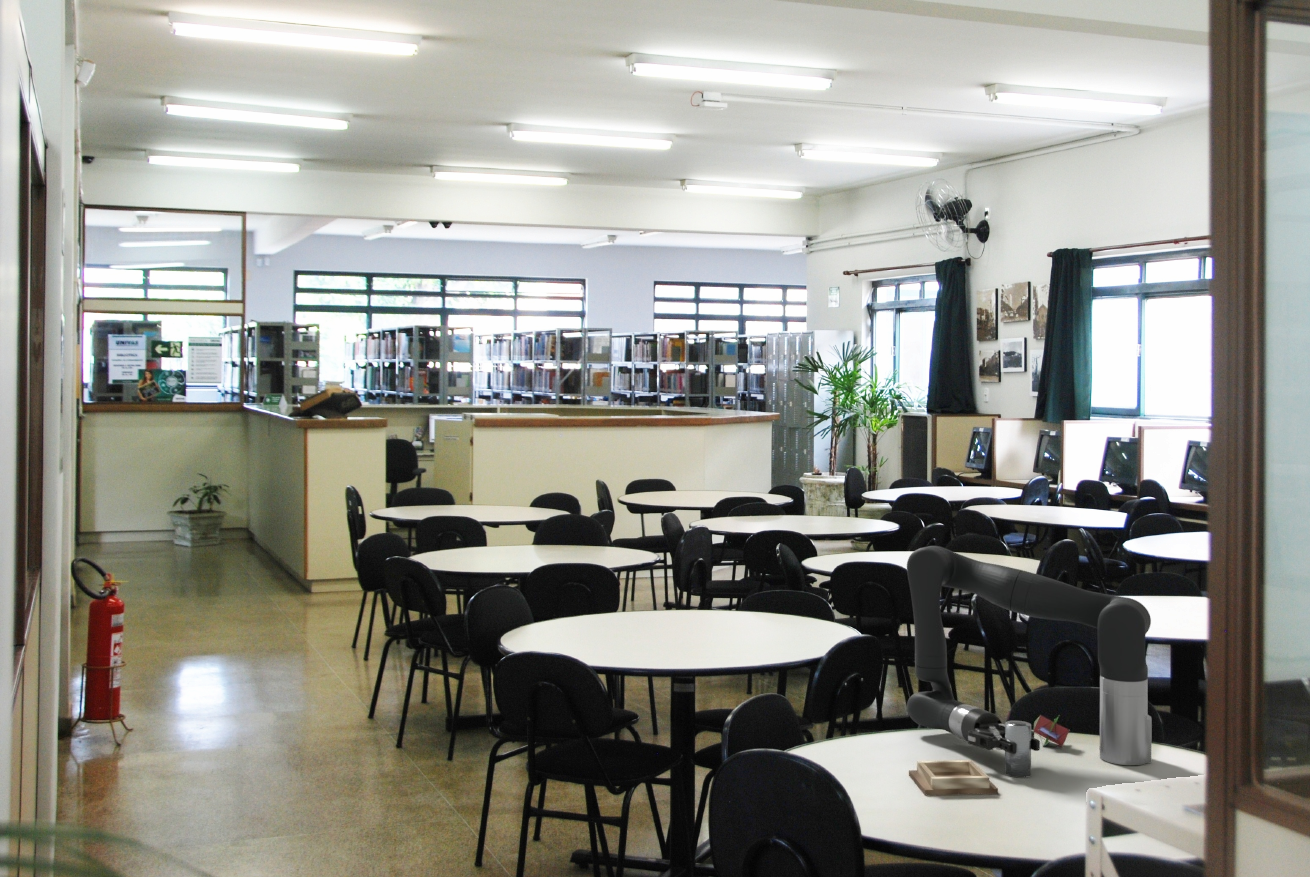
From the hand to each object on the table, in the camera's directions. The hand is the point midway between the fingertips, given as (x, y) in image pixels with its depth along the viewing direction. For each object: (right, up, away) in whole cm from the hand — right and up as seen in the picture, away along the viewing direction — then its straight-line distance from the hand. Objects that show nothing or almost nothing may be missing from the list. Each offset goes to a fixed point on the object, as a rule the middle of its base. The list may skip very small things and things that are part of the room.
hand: (1026, 747), depth 233 cm
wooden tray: (-16, -6, -4) cm, 17 cm away
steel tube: (-1, -6, +3) cm, 7 cm away
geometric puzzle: (+12, -6, +22) cm, 26 cm away
